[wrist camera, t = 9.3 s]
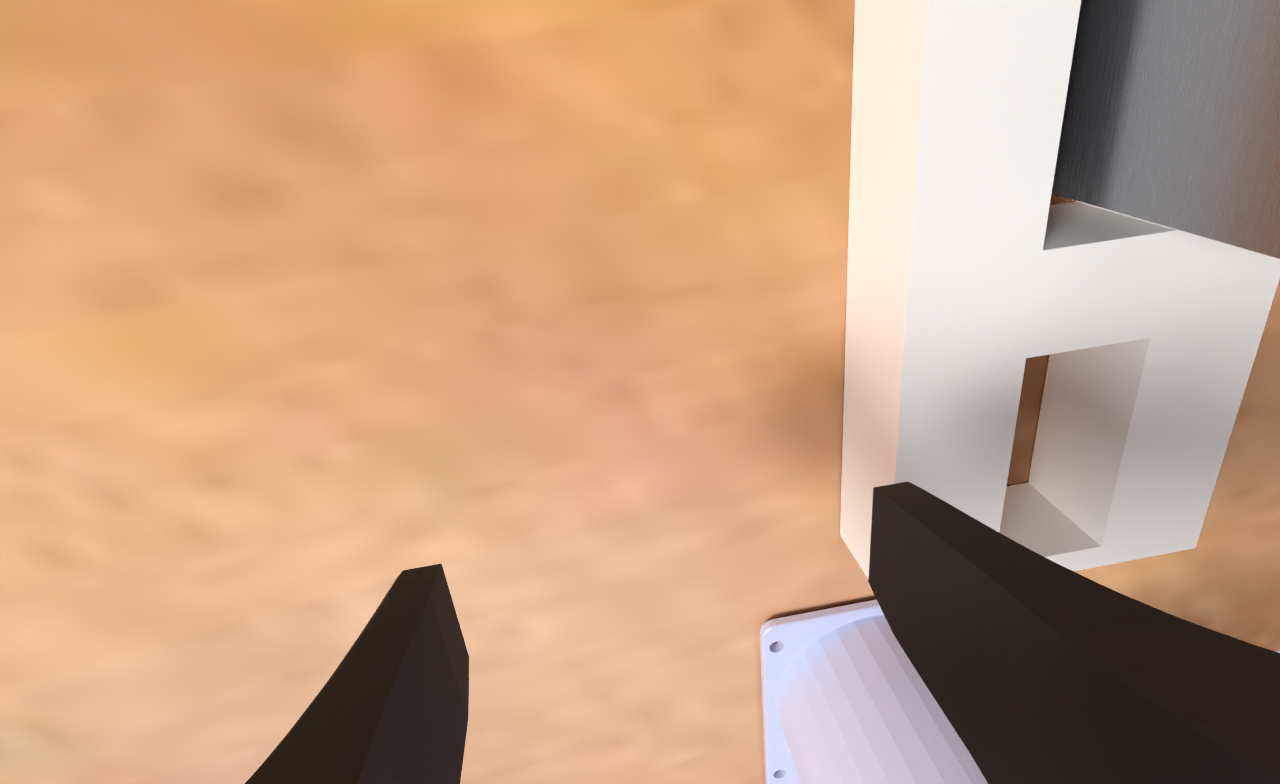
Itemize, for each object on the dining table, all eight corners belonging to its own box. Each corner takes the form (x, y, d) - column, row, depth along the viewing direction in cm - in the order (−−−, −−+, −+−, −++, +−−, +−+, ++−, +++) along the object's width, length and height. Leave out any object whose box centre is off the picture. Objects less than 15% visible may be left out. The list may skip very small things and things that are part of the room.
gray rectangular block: (1058, 165, 20) (1421, 250, 12) (989, 175, 20) (1311, 267, 12) (1090, -45, 18) (1568, -118, 10) (1013, -37, 17) (1433, -102, 9)
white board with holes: (1112, 485, 25) (1195, 547, 22) (840, 534, 24) (886, 607, 21) (1258, -138, 17) (1422, -178, 14) (857, -96, 16) (936, -128, 13)
